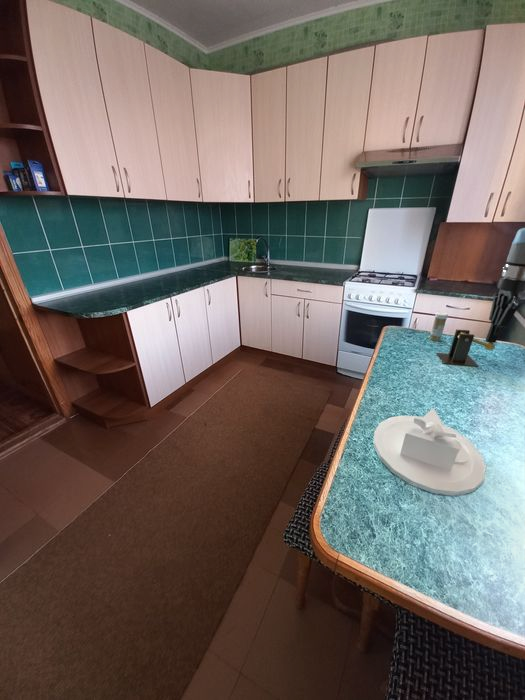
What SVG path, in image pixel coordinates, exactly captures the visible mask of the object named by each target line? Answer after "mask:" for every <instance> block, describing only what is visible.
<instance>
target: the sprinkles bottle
mask: <svg viewBox="0 0 525 700" xmlns="http://www.w3.org/2000/svg"><path fill="white" fill-rule="evenodd" d="M448 317H449V314H448V313H447V312H445V311H436V312H435V316H434V321H433V324H432V328H431V331H430V335H429V340H430V341H432V342H440V341H441V339H442V336H443V333H444V329H445V326H446V322H447V319H448Z"/></svg>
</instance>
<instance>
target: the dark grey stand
mask: <svg viewBox="0 0 525 700" xmlns="http://www.w3.org/2000/svg"><path fill="white" fill-rule="evenodd" d="M460 332H463V333H466V334H460ZM470 332H471V330H470V329H455V332H454V336H453V338H452V342H451V345H450V348H449V352H448V353H446V352H445V353H444V352H436V353H435V354H436V356H437V358H438V359H439V361H440V362H441V364H442V365H448V366H460V367H469V368H470V367H471V368H479V365H478V364H477V363H476V361H475V360H474V359H473V358H472V357H471V356H470V355H469V353H470V350H471V347H472V344H473V342H472V341H473V339H475V334H474V333H470ZM459 334H460V336H459V338H458V337H457V336H458V335H459Z"/></svg>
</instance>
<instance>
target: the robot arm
mask: <svg viewBox="0 0 525 700" xmlns="http://www.w3.org/2000/svg"><path fill="white" fill-rule="evenodd" d="M496 287H497V289H499V291H498V293H497V292H494V293H493V296H492V297H493V298H492V304H491V309H490V313H489V318H488V320H489V321H490V327H489V329H488V331H487V335H486V337H485V342H486V343H487V342H492V343H494V344H495V343H496V342H497V340H498V337H499V335H500V332H501V330H502V328H507V327H508V326H509V324H510V322H511V320H512V319H513V317H514V316H515V313H516V312H517V310H518V309H519V308H520V307H521V306H522V303H521V302H518V299H519V295H520V293H522V292H524V291H525V227H522V228H519V229H518V230H517V231H516V234H515V237H514V239H513V241H512V243H511V246H510V249H509V251H508V255H507V258H506V260H505V264H504V267H502V272H501V277H500V278H499V280H498V283H497V286H496Z"/></svg>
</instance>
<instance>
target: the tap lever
mask: <svg viewBox="0 0 525 700" xmlns="http://www.w3.org/2000/svg"><path fill="white" fill-rule="evenodd" d="M460 334H466V333H463V332H460ZM460 334H459V335H458V336H457V337H458V338H459V336H460ZM472 343H475V344H478V345H480V346H483V347H484V350H486V351H493V350H495V348H496V344H495V343H492V342H487V341H486V342H484V341H481V340H478V339H475V338H473V341H472Z"/></svg>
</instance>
